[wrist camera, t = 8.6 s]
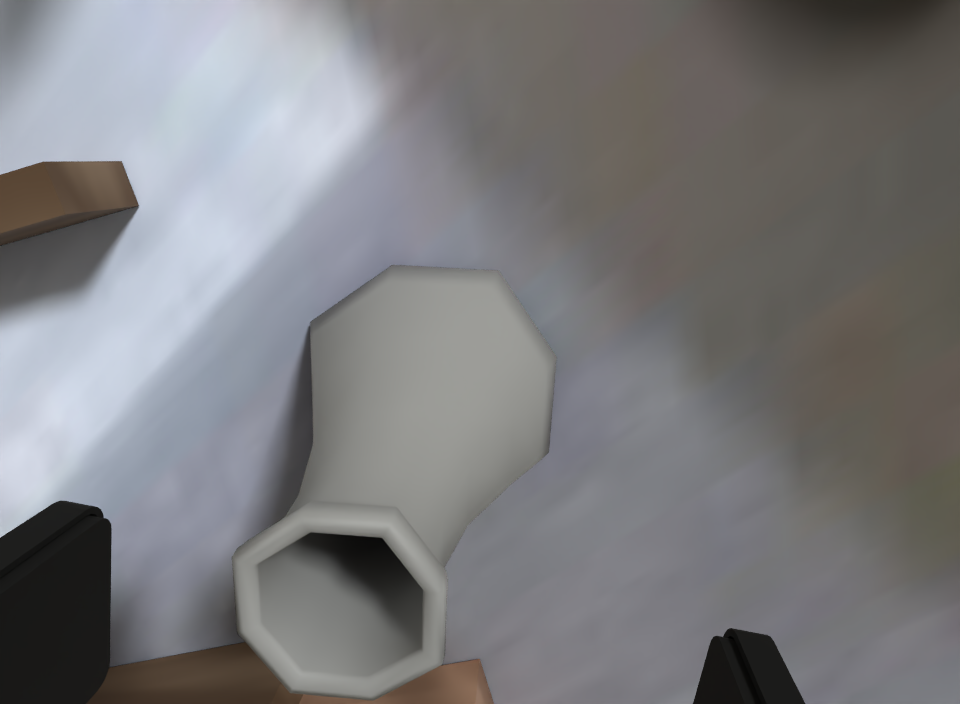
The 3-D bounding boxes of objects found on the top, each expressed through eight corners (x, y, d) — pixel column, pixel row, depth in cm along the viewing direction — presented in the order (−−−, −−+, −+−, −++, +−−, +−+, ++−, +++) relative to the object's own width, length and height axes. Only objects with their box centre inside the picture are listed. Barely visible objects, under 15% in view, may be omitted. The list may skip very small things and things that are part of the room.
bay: (316, 661, 22) (272, 767, 18) (-4, 718, 24) (-107, 827, 20) (121, 161, 18) (10, 161, 14) (-251, 273, 19) (-443, 301, 16)
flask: (523, 227, 18) (518, 308, 8) (586, 468, 19) (644, 769, 10) (272, 296, 19) (4, 443, 9) (355, 520, 20) (204, 839, 11)
